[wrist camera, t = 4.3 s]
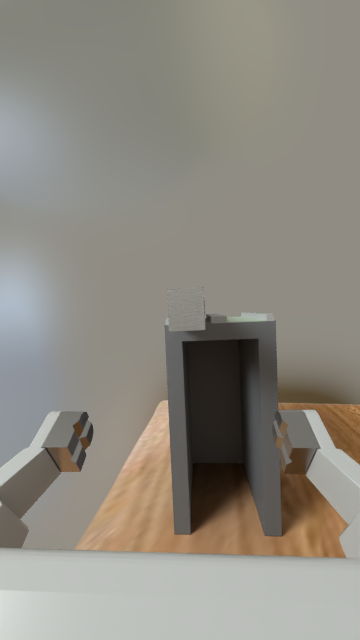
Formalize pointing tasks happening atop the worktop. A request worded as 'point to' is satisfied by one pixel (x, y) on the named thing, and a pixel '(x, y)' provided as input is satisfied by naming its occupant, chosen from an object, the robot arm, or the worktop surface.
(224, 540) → the worktop surface
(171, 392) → the tall grey pillar
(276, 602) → the robot arm
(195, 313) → the brushed metal post
